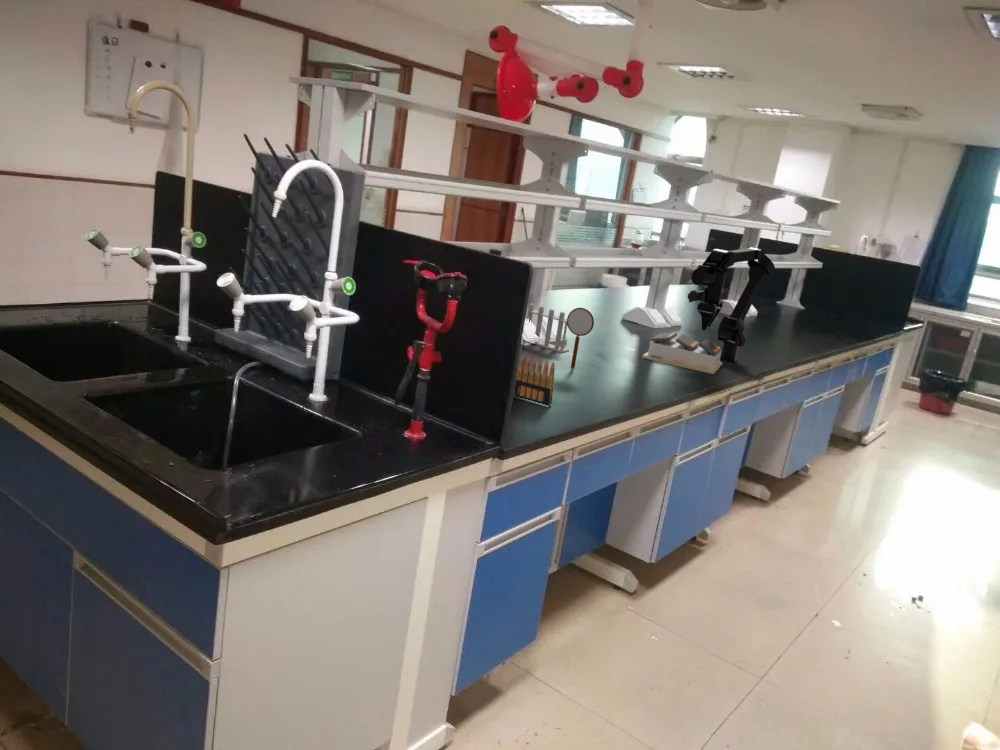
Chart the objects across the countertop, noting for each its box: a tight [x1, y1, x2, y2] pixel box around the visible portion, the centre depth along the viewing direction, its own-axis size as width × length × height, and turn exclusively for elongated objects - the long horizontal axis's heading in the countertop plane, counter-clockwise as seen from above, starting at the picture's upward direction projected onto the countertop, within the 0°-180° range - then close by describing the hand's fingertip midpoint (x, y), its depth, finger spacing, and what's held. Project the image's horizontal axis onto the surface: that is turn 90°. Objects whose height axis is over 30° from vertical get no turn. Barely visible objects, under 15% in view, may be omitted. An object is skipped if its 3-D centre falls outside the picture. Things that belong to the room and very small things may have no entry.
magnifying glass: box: [566, 307, 595, 372], centre depth 228 cm, size 9×2×20 cm, turn 63°
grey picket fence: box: [526, 303, 570, 354], centre depth 260 cm, size 25×4×13 cm, turn 51°
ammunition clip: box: [515, 353, 556, 406], centre depth 193 cm, size 11×2×12 cm, turn 62°
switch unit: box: [641, 339, 723, 375], centre depth 265 cm, size 18×25×6 cm
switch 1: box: [651, 332, 678, 342], centre depth 267 cm, size 12×6×1 cm, turn 155°
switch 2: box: [698, 338, 722, 356], centre depth 261 cm, size 12×6×1 cm, turn 155°
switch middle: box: [675, 333, 700, 351], centre depth 264 cm, size 12×6×1 cm, turn 155°
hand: (705, 328), depth 267 cm, fingers open, 9 cm apart
